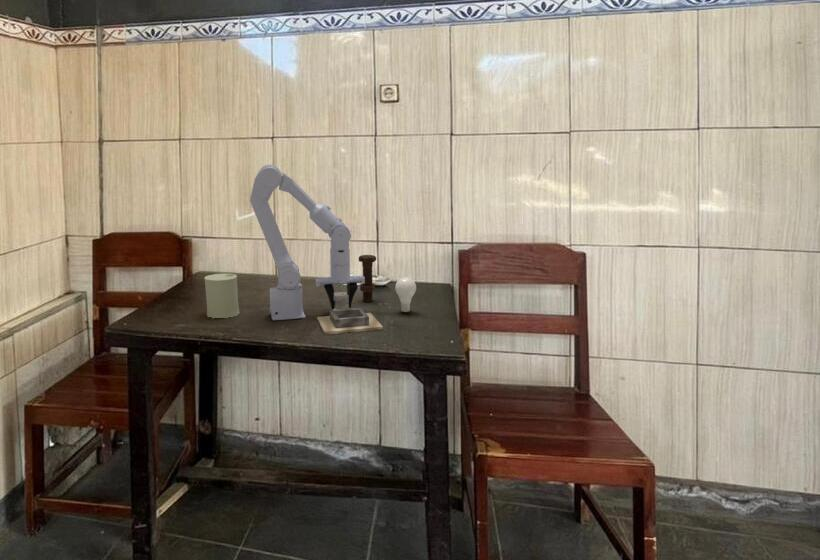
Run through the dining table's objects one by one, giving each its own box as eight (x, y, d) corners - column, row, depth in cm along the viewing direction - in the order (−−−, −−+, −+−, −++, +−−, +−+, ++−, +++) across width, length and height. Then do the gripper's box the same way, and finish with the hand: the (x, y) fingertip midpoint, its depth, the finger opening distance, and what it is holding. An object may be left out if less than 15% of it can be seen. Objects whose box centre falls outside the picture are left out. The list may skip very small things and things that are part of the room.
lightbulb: (419, 311, 166) (419, 276, 164) (410, 316, 161) (410, 280, 158) (400, 308, 169) (401, 274, 166) (391, 313, 163) (391, 278, 161)
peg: (335, 315, 161) (335, 295, 160) (333, 311, 165) (332, 292, 163) (348, 314, 162) (348, 295, 161) (346, 310, 166) (345, 291, 165)
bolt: (372, 303, 174) (372, 258, 170) (357, 302, 175) (357, 257, 171) (377, 299, 179) (377, 254, 176) (362, 298, 180) (362, 254, 177)
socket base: (324, 334, 144) (324, 323, 143) (317, 319, 157) (316, 309, 156) (382, 329, 148) (382, 318, 148) (370, 315, 161) (370, 305, 161)
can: (245, 314, 161) (243, 275, 158) (216, 320, 154) (213, 280, 152) (229, 308, 167) (227, 270, 164) (201, 314, 160) (198, 275, 158)
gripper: (317, 267, 154) (319, 313, 157) (367, 265, 159) (367, 309, 162) (314, 263, 161) (315, 306, 164) (361, 260, 165) (361, 303, 168)
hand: (340, 307), depth 163 cm, fingers open, 4 cm apart
